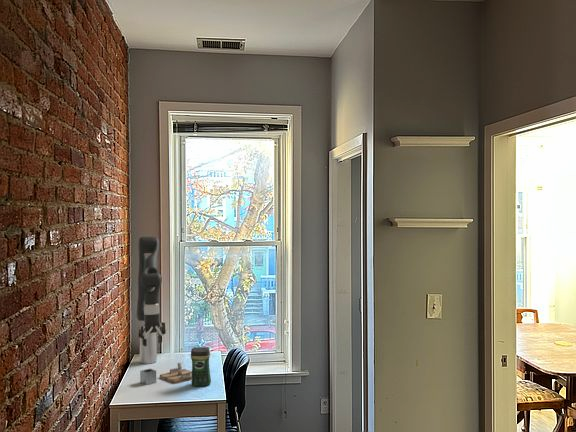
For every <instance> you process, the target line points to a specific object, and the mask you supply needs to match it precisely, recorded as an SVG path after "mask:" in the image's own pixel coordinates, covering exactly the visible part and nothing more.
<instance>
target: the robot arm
mask: <svg viewBox="0 0 576 432" xmlns="http://www.w3.org/2000/svg"><path fill="white" fill-rule="evenodd" d="M146 254H149V255H148V257H146V256H145V255H146ZM159 255H160V239H159V238H158V237H157V236H141V237H139V239H138V276H137V292H138V293H137V306H136V318H137V320H138V321H140V322H142V321H143V322H144V325H139V326H138V335H137V336H138V339H139V362H140V364H142V365H143V364H148V365H149V364H154V363H157V361H158V358H157V352H158V351H157V343H158V344H162V343H163V336H164V335H165V334H166V331H167V330H166V322H162V321H160V299H159V298H160V296H159V295H160V289H161V285H162V282H163V276H162V275H161V274H160V273H158V271H159V269H158V267H159V266H158V261H159Z"/></svg>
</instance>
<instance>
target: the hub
mask: <svg viewBox="0 0 576 432" xmlns="http://www.w3.org/2000/svg"><path fill="white" fill-rule="evenodd" d="M139 372H140V373H139V376H140V378H139V380H140V381H139V383H141V384H143V385H145V386H147V385H148V386H149V385H152V384H156V383H157V370H155V369H153V368H147V369H142V370H140V371H139Z"/></svg>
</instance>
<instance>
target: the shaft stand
mask: <svg viewBox="0 0 576 432" xmlns="http://www.w3.org/2000/svg"><path fill="white" fill-rule="evenodd" d="M182 365H183V363H182V362H177V367H173V368H169V372H166V373H162V374H159V378H160V379H162V380H165V381H167V382H170V383H172V384H174V385H175V384H179V383H183V382H188V381H191V378H192V370H191V371H190V370H188V369H186V368H182Z"/></svg>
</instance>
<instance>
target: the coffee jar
mask: <svg viewBox="0 0 576 432" xmlns="http://www.w3.org/2000/svg"><path fill="white" fill-rule="evenodd" d="M210 357H211V352H210V347H209V346H205V347H204V346H203V347H202V346H198V347H197V346H196V347H192V348H191V350H190V359H191V366H192V367H191V371H192V378H191V380H190V381H191V385H192V386H193V387H207V386H209V385H211V383H212V379H211V377H212V376H211V369H210Z"/></svg>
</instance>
